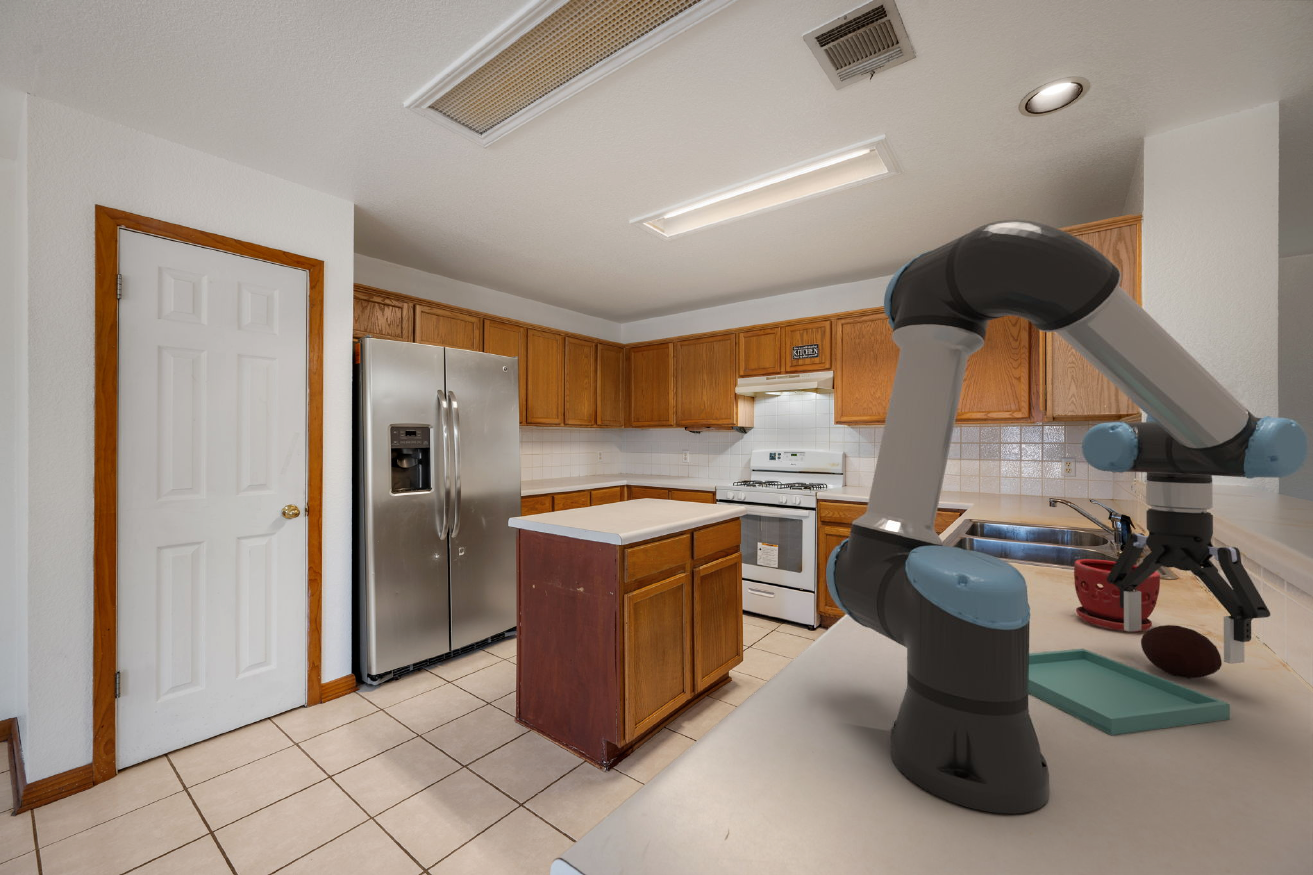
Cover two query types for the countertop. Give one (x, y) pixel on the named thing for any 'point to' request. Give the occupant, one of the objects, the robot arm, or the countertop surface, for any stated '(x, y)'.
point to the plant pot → (1109, 595)
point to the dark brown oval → (1181, 651)
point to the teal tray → (1117, 693)
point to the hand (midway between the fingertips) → (1179, 645)
